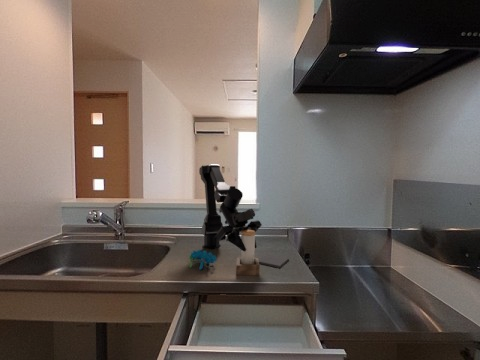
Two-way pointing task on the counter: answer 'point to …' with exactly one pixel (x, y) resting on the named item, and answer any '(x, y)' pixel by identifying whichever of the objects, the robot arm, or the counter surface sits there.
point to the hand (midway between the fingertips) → (250, 249)
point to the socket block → (247, 268)
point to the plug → (248, 247)
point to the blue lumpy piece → (201, 258)
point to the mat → (273, 260)
